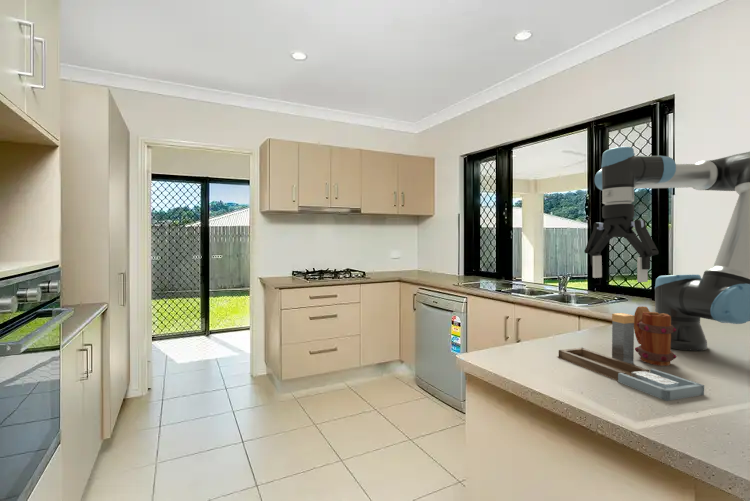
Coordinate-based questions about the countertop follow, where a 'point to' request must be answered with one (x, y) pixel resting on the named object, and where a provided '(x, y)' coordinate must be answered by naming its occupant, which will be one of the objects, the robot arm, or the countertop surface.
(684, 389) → the tray
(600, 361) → the slot board
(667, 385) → the chip
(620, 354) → the grey and tan block
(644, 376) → the chip
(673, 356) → the mug
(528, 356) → the countertop surface
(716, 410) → the countertop surface
